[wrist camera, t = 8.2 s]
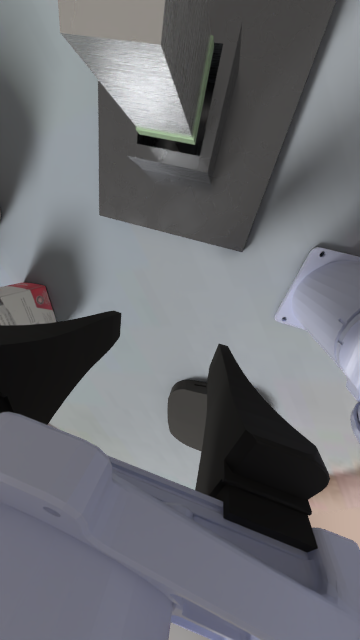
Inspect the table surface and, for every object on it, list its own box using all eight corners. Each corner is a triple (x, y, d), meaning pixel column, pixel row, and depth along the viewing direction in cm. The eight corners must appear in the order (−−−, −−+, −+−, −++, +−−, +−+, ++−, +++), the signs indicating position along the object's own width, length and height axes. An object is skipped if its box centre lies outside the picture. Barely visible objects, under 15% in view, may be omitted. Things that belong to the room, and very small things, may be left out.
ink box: (20, 280, 27) (-108, 307, 17) (45, 284, 26) (-75, 314, 16) (38, 327, 31) (-58, 372, 21) (60, 332, 30) (-28, 382, 20)
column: (214, 51, 10) (194, -249, 4) (195, 147, 12) (162, 49, 6) (148, 43, 10) (38, -233, 4) (141, 136, 12) (58, 36, 6)
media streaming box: (249, 447, 31) (251, 467, 29) (173, 428, 34) (168, 444, 32) (265, 391, 25) (270, 409, 22) (171, 374, 28) (165, 388, 26)
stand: (345, -29, 10) (424, -207, 6) (241, 251, 18) (245, 255, 14) (106, -42, 12) (45, -184, 8) (105, 216, 20) (73, 210, 15)
